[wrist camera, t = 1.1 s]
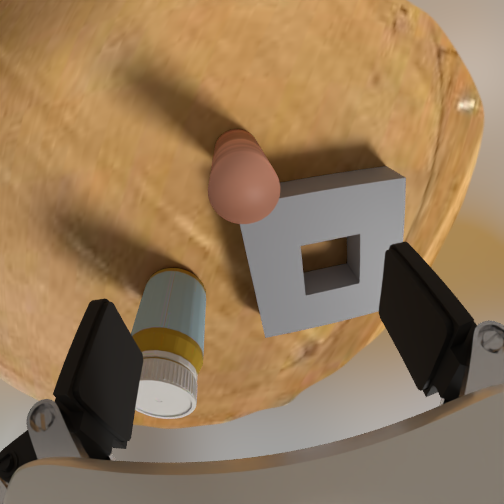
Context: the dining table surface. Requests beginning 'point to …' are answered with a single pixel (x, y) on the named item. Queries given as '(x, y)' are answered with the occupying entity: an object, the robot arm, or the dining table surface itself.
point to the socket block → (318, 230)
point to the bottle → (170, 343)
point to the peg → (242, 179)
